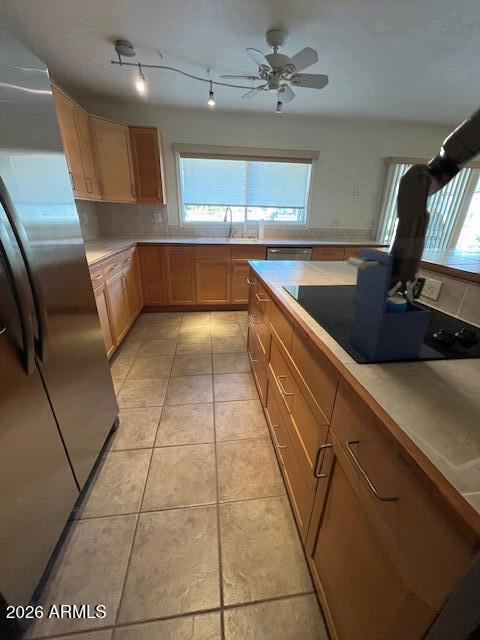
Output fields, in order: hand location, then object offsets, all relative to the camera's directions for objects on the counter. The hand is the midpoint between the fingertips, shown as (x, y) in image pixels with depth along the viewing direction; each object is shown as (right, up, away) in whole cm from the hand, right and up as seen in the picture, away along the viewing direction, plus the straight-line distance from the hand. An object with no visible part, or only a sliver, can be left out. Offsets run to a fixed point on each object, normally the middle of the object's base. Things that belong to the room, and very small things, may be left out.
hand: (391, 314), depth 73 cm
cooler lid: (-8, +9, -5) cm, 13 cm away
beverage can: (0, -7, +3) cm, 8 cm away
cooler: (0, -10, +4) cm, 11 cm away
